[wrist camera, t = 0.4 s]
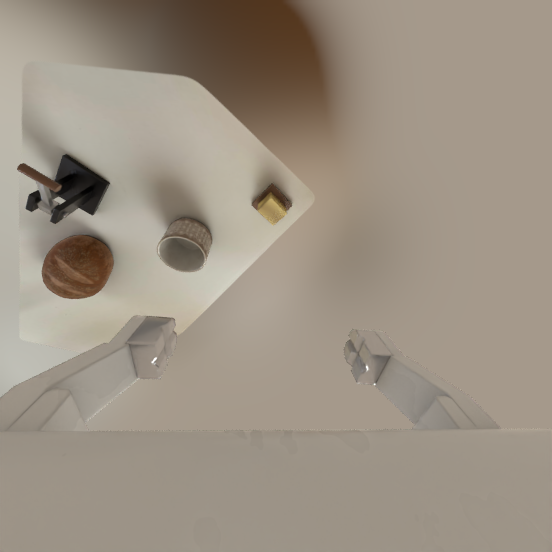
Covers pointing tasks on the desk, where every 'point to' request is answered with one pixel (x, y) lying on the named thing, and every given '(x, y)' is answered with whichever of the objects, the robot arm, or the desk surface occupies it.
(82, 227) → the desk surface
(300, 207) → the desk surface
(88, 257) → the bread
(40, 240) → the desk surface
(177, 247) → the planter
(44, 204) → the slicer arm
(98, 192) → the slicer
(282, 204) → the butter
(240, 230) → the desk surface
